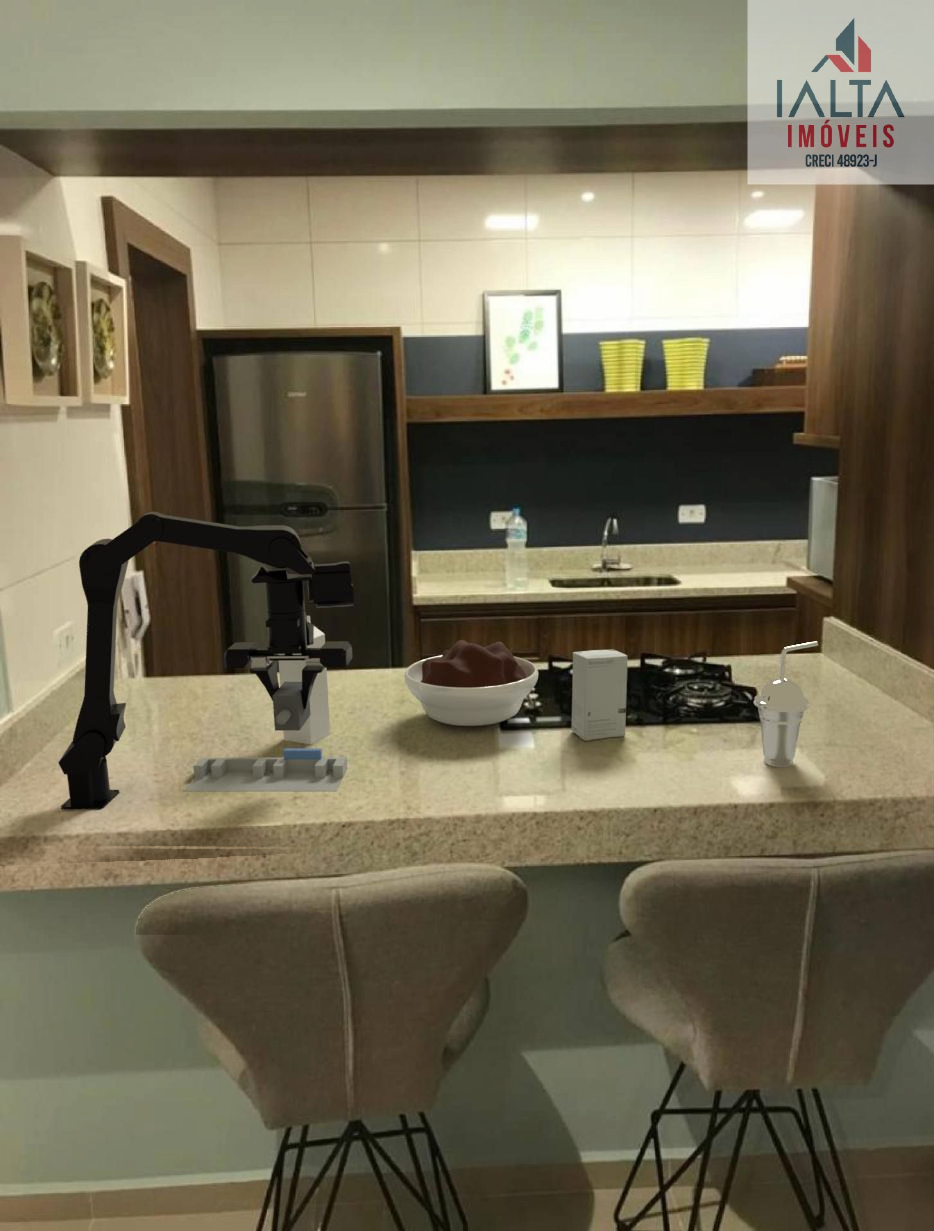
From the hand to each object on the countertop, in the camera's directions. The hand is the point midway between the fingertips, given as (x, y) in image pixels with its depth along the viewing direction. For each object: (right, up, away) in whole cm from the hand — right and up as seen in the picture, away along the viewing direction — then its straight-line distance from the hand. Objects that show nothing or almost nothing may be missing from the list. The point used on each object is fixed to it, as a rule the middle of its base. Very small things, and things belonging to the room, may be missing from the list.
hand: (292, 708), depth 146 cm
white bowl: (+28, -5, +32) cm, 43 cm away
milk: (-2, -8, +23) cm, 24 cm away
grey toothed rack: (-5, -12, +3) cm, 13 cm away
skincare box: (+51, -7, +22) cm, 55 cm away
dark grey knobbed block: (0, -3, -1) cm, 3 cm away
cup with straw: (+78, -10, +6) cm, 79 cm away
